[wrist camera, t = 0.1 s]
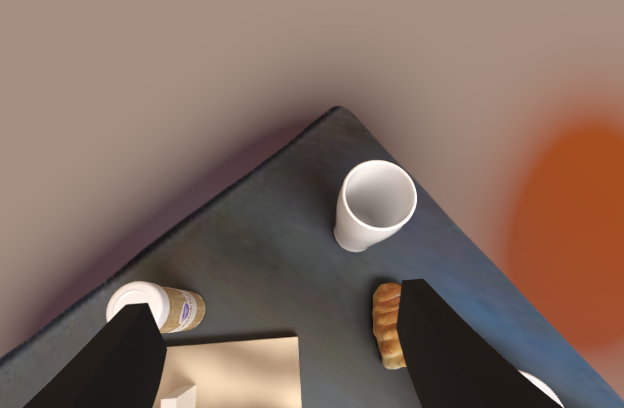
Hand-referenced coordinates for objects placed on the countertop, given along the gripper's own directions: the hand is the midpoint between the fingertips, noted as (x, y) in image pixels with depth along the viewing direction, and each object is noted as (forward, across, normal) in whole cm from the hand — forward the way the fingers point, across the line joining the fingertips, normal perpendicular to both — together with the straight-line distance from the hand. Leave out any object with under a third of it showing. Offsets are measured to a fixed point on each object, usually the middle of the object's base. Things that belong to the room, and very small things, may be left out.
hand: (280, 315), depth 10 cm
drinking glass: (+28, -8, +18) cm, 34 cm away
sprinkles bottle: (+22, +13, +23) cm, 35 cm away
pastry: (+19, -12, +26) cm, 35 cm away
